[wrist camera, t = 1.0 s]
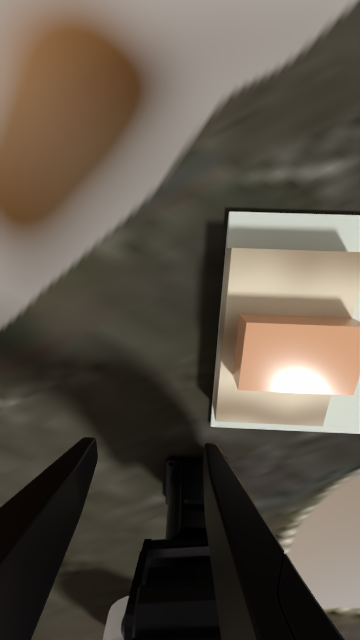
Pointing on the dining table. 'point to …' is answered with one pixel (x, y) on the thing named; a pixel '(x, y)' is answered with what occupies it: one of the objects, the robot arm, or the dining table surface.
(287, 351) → the terracotta tile
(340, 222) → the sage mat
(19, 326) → the dining table surface
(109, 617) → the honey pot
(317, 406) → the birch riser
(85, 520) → the dining table surface
